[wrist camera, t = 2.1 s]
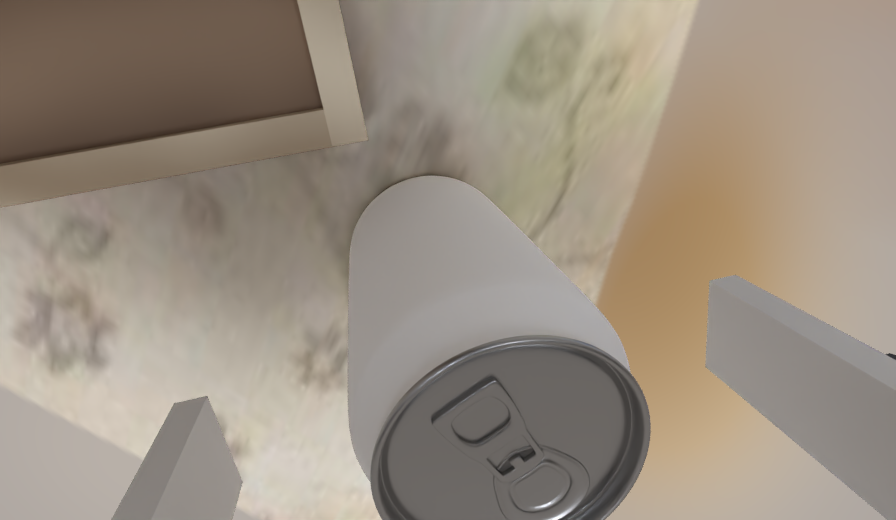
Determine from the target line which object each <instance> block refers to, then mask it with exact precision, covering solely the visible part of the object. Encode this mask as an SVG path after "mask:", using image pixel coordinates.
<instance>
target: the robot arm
mask: <svg viewBox="0 0 896 520" xmlns="http://www.w3.org/2000/svg"><path fill="white" fill-rule="evenodd" d="M706 368H707V369H709V370H710V371H711V372H712V373H713V374H715V375H716V376H717V377H718V378H720V379H721V380H722V381H723V382H724V383H726V384H727V385H728V386H729V387H730V388H731V389H732V390H734V391H735V392H736V393H737V394H738V395H740V396H741V397H742V398H743V399H744V400H746V401H747V402H748V403H749V404H750V405H751V406H753V407H754V408H755V409H756V410H758V411H759V412H760V413H761V414H762V415H763V416H765V417H766V418H767V419H768V420H769V421H771V422H772V423H773V424H774V425H775V426H776V427H778V428H779V429H780V430H781V431H782V432H784V433H785V434H786V435H787V436H788V437H790V438H791V439H792V440H793V441H794V442H795V443H797V444H798V445H799V446H800V447H801V448H803V449H804V450H805V451H806V452H807V453H809V454H810V455H811V456H812V457H813V458H815V459H816V460H817V461H818V462H819V463H821V464H822V465H823V466H824V467H825V468H826V469H828V470H829V471H830V472H831V473H832V474H834V475H835V476H836V477H837V478H838V479H840V480H841V481H842V482H843V483H844V484H845V485H847V486H848V487H849V488H850V489H851V490H853V491H854V492H855V493H856V494H857V495H859V496H860V497H861V498H862V499H863V500H865V501H866V502H867V503H868V504H870V506H872V507H873V508H874V509H875V510H876V511H878V512H879V513H880V514H881V515H882V516H884V517H885V518H886V519H887V520H896V355H893V354H890V353H889V354H883V353H882V352H880V351H878V350H876V349H874V348H872V347H870V346H868V345H866V344H865V343H863V342H861V341H859V340H857V339H855V338H853V337H851V336H850V335H848V334H846V333H844V332H842V331H840V330H838V329H836V328H835V327H833V326H831V325H829V324H827V323H825V322H823V321H821V320H819V319H818V318H816V317H814V316H812V315H810V314H808V313H806V312H805V311H803V310H801V309H799V308H797V307H795V306H793V305H791V304H789V303H788V302H786V301H784V300H782V299H780V298H778V297H776V296H774V295H773V294H771V293H769V292H767V291H765V290H763V289H761V288H759V287H757V286H756V285H754V284H752V283H750V282H748V281H746V280H744V279H743V278H740V277H739V276H737V275H733V276H728V277H724V278H720V279H715V280H711V281H710V282H709V302H708V323H707V346H706ZM241 486H242V479H241V477H240V475H239V472H238V470H237V467H236V465H235V462H234V460H233V457H232V455H231V453H230V450H229V448H228V445H227V443H226V440H225V438H224V436H223V433H222V431H221V428H220V426H219V423H218V421H217V418H216V416H215V414H214V411H213V409H212V406H211V404H210V401H209V399H208V397H207V396H205V397H200V398H196V399H192V400H187V401H183V402H179V403H174V405H173V407H172V409H171V411H170V412H169V414H168V416H167V418H166V420H165V422H164V424H163V425H162V427H161V429H160V431H159V433H158V435H157V436H156V438H155V440H154V442H153V444H152V446H151V448H150V449H149V451H148V453H147V455H146V457H145V459H144V460H143V462H142V464H141V466H140V468H139V470H138V472H137V473H136V475H135V477H134V479H133V481H132V483H131V485H130V487H129V488H128V490H127V492H126V494H125V496H124V497H123V499H122V501H121V503H120V505H119V507H118V508H117V510H116V512H115V514H114V516H113V518H112V520H232V519H233V515H234V512H235V508H236V504H237V501H238V497H239V493H240V490H241Z"/></svg>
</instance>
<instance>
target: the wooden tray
mask: <svg viewBox="0 0 896 520" xmlns="http://www.w3.org/2000/svg"><path fill="white" fill-rule="evenodd" d="M362 141H368V136H367V132H366V127H365V122H364V117H363V113H362V108H361V103H360V98H359V94H358V89H357V84H356V80H355V75H354V70H353V65H352V61H351V56H350V51H349V47H348V42H347V37H346V32H345V28H344V23H343V18H342V14H341V9H340V4H339V0H0V208H2V207H7V206H12V205H18V204H23V203H29V202H34V201H40V200H45V199H51V198H56V197H62V196H67V195H73V194H78V193H84V192H89V191H94V190H100V189H105V188H111V187H116V186H122V185H127V184H133V183H138V182H144V181H149V180H155V179H160V178H166V177H171V176H177V175H182V174H187V173H193V172H198V171H204V170H209V169H215V168H220V167H226V166H231V165H237V164H242V163H248V162H253V161H259V160H264V159H269V158H275V157H280V156H286V155H291V154H297V153H302V152H308V151H313V150H319V149H324V148H330V147H335V146H341V145H346V144H352V143H357V142H362Z"/></svg>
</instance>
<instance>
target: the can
mask: <svg viewBox="0 0 896 520" xmlns="http://www.w3.org/2000/svg"><path fill="white" fill-rule="evenodd" d="M348 416H349V428H350V434H351V440H352V445H353V449H354V452H355V455H356V457H357V460H358V462H359V464H360V466H361V468H362V470H363V471H364V473H365V475H366V476H367V478H368V480H369V481H370V482H371V490H372V495H373V499H374V502H375V505H376V508H377V510H378V513H379V515H380V517H381V518H382V520H605V519H606V518H607V517H608V516H609V515H610V514H611V513H612V512H613V511H614V510H615V509H616V508H617V507H618V506H619V505H620V503H621V502H622V501H623V500H624V498H625V497H626V496H627V494H628V493H629V491H630V490H631V488H632V487H633V485H634V483H635V482H636V480H637V478H638V476H639V474H640V472H641V470H642V467H643V465H644V461H645V459H646V456H647V452H648V447H649V441H650V415H649V410H648V405H647V402H646V399H645V396H644V394H643V392H642V390H641V388H640V386H639V384H638V383H637V381H636V380H635V378H634V377H633V376H632V374H631V373H630V368H629V363H628V359H627V356H626V353H625V350H624V347H623V345H622V342H621V340H620V338H619V336H618V335H617V333H616V331H615V330H614V329H613V327H612V326H611V324H610V323H609V321H608V320H607V319H606V317H605V316H604V315H603V314H602V313H601V312H600V310H599V309H598V308H597V307H596V306H595V305H594V304H593V303H592V302H591V300H590V299H589V298H588V297H587V296H586V295H585V294H584V293H583V292H582V291H581V290H580V289H579V288H578V287H577V286H576V285H575V284H574V283H573V282H572V281H571V280H570V279H569V278H568V277H567V276H566V275H565V274H564V273H563V272H562V271H561V270H560V269H559V268H558V267H557V266H556V265H555V264H554V263H553V262H552V261H551V260H550V259H549V258H548V257H547V256H546V255H545V254H544V253H543V252H542V251H541V250H540V249H539V248H538V247H537V246H536V245H535V244H534V243H533V242H532V241H531V240H530V239H529V238H528V237H527V236H526V235H525V234H524V233H523V232H522V231H521V230H520V229H519V228H518V227H517V226H516V225H515V224H514V223H513V222H512V221H511V220H510V219H509V218H508V217H507V216H506V215H505V214H504V213H503V212H502V211H501V210H500V209H499V208H498V207H497V206H496V205H495V204H494V203H493V202H492V201H491V200H490V199H489V198H487V197H486V196H485V195H484V194H483V193H482V192H480V191H479V190H477V189H476V188H474V187H473V186H471V185H469V184H467V183H465V182H463V181H460V180H457V179H454V178H450V177H444V176H421V177H415V178H411V179H408V180H405V181H402V182H399V183H397V184H395V185H393V186H391V187H390V188H388V189H386V190H385V191H383V192H382V193H381V194H379V195H378V196H377V197H376V198H375V199H374V200H373V201H372V202H371V203H370V204H369V205H368V206H367V208H366V209H365V210H364V212H363V213H362V215H361V216H360V218H359V220H358V222H357V224H356V227H355V229H354V232H353V236H352V240H351V245H350V257H349V300H348Z"/></svg>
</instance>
